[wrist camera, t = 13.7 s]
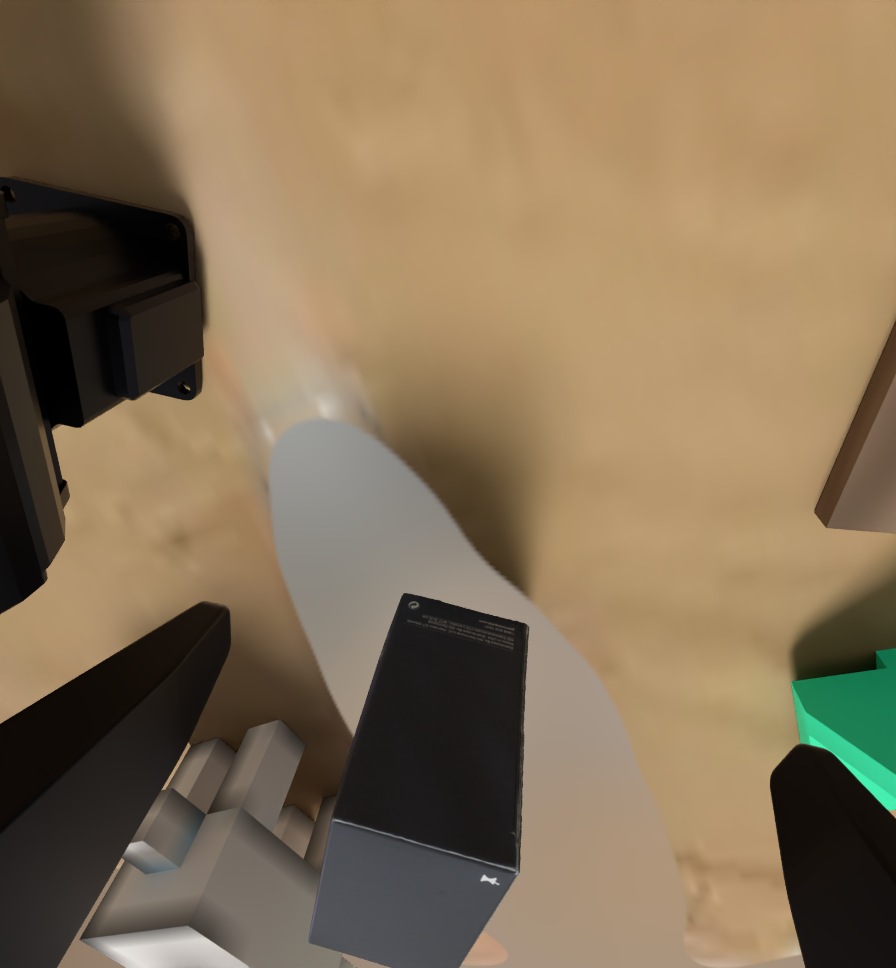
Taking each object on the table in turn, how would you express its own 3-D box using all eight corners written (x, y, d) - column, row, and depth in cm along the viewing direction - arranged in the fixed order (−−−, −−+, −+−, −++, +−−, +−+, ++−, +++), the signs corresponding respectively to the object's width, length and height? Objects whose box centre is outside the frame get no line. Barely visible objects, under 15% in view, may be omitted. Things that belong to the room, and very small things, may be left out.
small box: (395, 584, 25) (320, 819, 16) (532, 619, 25) (532, 872, 16) (365, 721, 31) (298, 951, 22) (478, 750, 31) (456, 992, 22)
